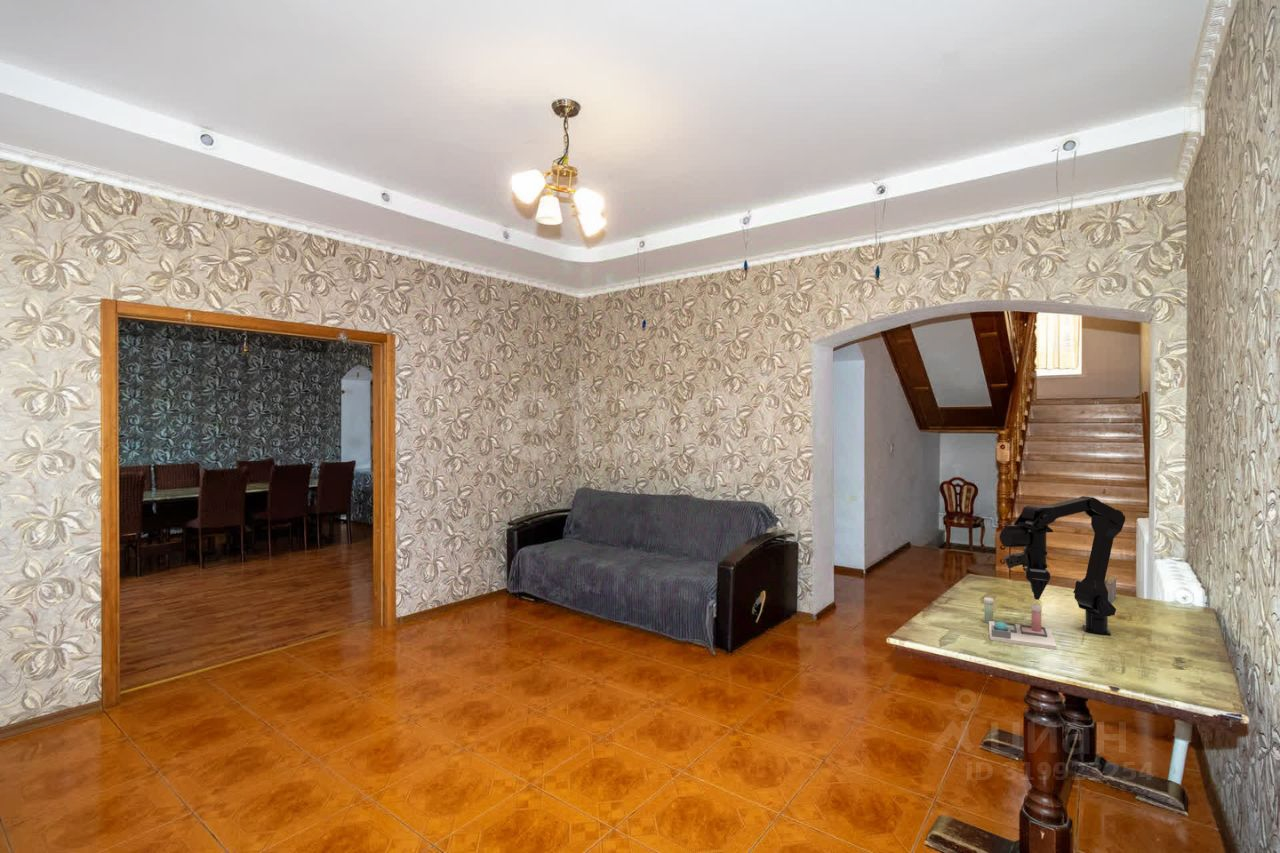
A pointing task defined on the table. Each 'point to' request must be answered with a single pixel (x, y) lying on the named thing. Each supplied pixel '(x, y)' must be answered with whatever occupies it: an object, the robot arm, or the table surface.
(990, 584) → the table surface
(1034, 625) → the rose marker
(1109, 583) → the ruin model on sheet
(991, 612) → the sage marker
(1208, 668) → the table surface
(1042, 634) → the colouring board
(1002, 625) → the button
